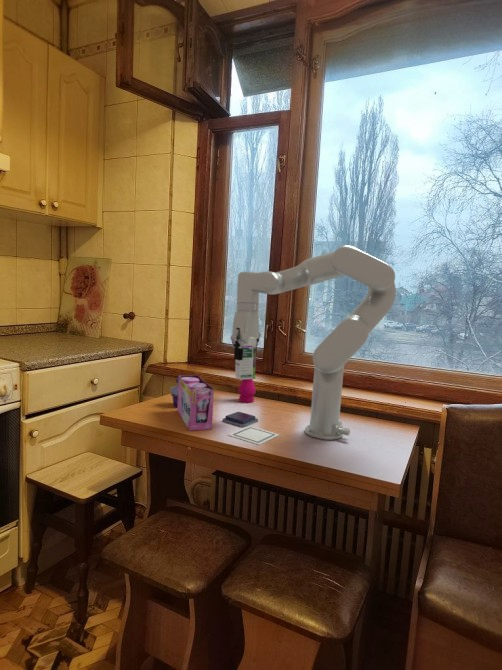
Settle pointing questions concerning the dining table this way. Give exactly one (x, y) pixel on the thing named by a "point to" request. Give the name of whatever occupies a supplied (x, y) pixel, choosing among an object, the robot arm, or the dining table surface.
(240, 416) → the ink pad
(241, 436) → the marked card
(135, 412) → the dining table surface
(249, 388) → the pepper mill
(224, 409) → the dining table surface
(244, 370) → the syrup box
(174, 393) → the potion bottle
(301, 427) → the dining table surface
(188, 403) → the gum box
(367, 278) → the robot arm
